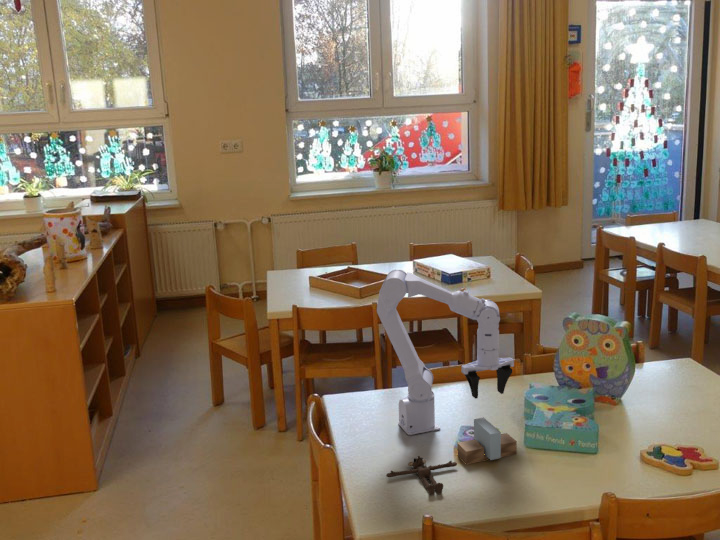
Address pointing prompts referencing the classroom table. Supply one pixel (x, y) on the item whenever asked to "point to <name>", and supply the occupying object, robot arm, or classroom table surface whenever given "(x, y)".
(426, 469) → the brown monkey toy
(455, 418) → the classroom table surface
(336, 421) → the classroom table surface
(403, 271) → the robot arm
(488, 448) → the pale grey-blue block
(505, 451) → the brown u-shaped block
